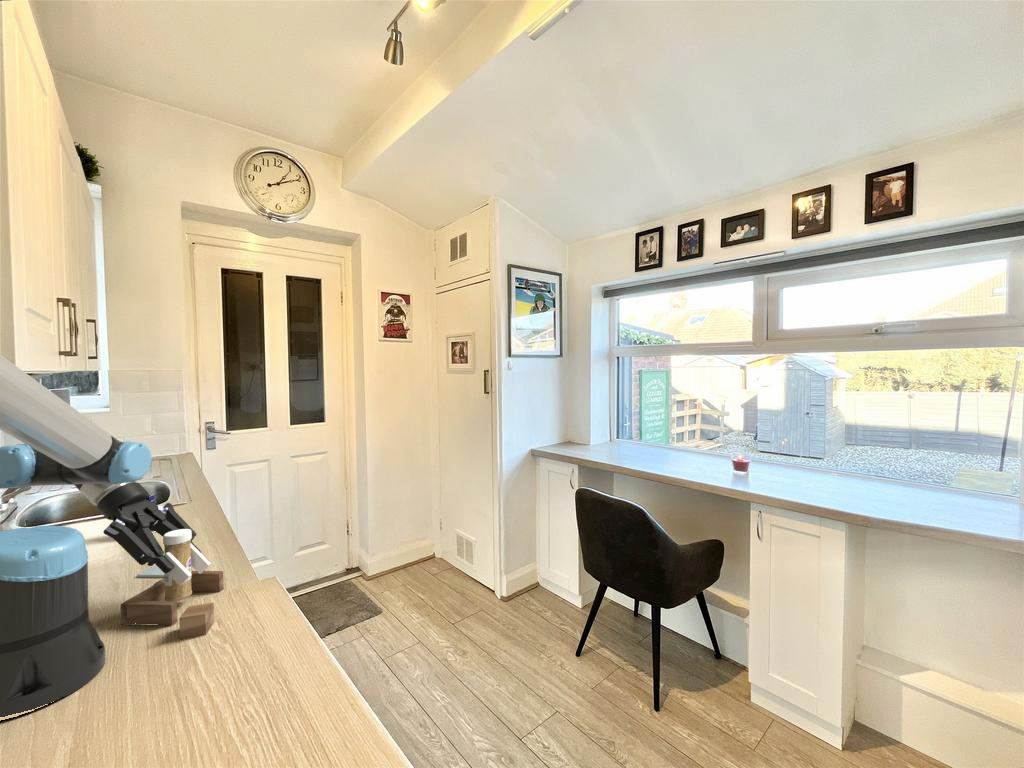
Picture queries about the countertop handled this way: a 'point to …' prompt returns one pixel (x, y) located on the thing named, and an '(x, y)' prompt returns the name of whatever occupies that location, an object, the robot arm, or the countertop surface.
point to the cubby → (157, 610)
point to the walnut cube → (196, 620)
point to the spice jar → (181, 550)
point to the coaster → (152, 572)
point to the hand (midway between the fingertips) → (195, 574)
